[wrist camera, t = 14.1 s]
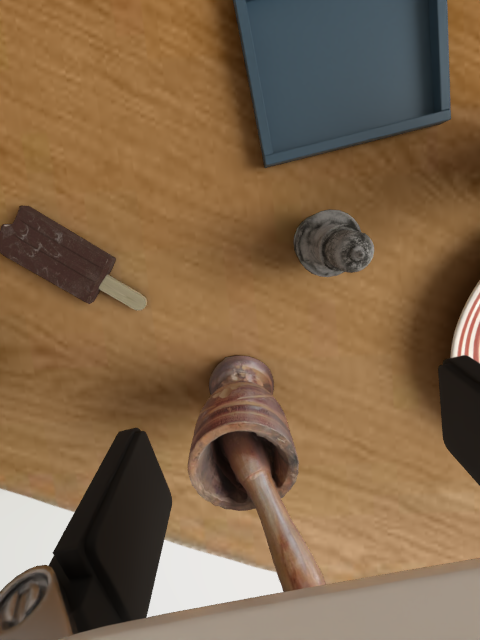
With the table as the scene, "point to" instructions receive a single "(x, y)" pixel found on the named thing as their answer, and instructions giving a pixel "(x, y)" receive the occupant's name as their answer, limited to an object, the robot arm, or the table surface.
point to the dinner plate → (468, 328)
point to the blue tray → (343, 71)
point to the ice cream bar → (63, 258)
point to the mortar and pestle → (251, 462)
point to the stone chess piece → (332, 244)
